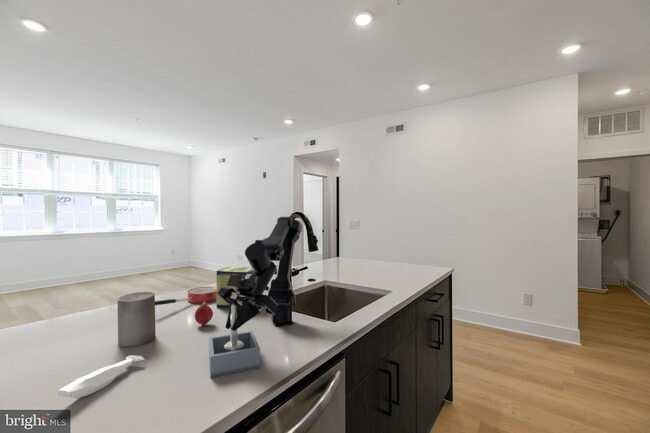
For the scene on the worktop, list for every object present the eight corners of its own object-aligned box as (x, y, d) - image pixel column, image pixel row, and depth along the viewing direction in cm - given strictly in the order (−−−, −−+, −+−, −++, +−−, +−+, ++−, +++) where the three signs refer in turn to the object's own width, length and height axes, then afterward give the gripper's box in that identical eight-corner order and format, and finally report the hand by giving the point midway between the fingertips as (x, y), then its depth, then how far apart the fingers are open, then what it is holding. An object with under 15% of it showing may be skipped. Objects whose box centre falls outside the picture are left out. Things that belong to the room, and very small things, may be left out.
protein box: (227, 300, 130) (227, 266, 130) (260, 302, 127) (260, 267, 127) (215, 308, 119) (215, 270, 119) (251, 310, 117) (251, 271, 117)
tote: (252, 348, 83) (252, 330, 83) (259, 367, 72) (259, 348, 72) (209, 355, 79) (209, 337, 79) (210, 377, 68) (210, 356, 68)
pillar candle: (150, 331, 95) (150, 286, 95) (159, 340, 88) (158, 291, 88) (114, 340, 88) (114, 291, 88) (121, 351, 81) (120, 298, 81)
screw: (243, 356, 74) (223, 358, 73) (243, 347, 79) (224, 349, 77) (243, 305, 74) (223, 307, 73) (243, 300, 79) (224, 301, 77)
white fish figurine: (50, 407, 57) (50, 387, 57) (127, 364, 75) (127, 349, 75) (73, 411, 56) (73, 390, 56) (145, 366, 74) (146, 350, 74)
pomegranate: (206, 329, 97) (206, 305, 97) (190, 327, 98) (191, 304, 98) (216, 323, 103) (216, 300, 103) (201, 321, 104) (201, 299, 104)
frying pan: (174, 320, 105) (174, 303, 105) (144, 317, 108) (144, 300, 108) (224, 296, 136) (224, 283, 136) (200, 294, 140) (200, 281, 140)
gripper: (222, 258, 84) (187, 307, 74) (270, 265, 74) (237, 321, 65) (243, 280, 91) (213, 327, 81) (290, 288, 81) (262, 343, 72)
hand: (229, 329), depth 75 cm, fingers closed on screw, 2 cm apart
